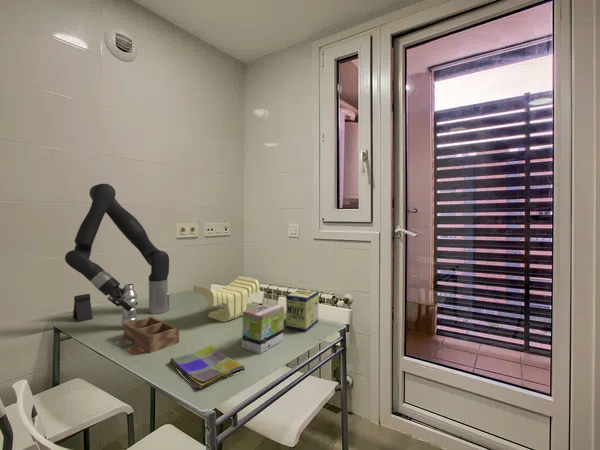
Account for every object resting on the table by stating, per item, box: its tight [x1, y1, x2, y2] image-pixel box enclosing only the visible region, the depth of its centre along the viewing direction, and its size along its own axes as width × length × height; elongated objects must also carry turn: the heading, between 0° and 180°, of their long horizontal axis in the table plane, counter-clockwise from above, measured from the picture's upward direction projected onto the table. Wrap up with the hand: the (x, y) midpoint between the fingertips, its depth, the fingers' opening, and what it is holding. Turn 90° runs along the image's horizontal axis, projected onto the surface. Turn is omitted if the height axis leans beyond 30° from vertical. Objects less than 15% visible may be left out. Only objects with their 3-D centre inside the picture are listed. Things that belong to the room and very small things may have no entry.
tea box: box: [241, 302, 285, 354], centre depth 121 cm, size 15×10×15 cm, turn 148°
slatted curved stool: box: [192, 275, 260, 323], centre depth 154 cm, size 30×16×18 cm, turn 144°
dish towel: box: [169, 344, 246, 390], centre depth 102 cm, size 18×24×3 cm
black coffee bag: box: [72, 293, 93, 323], centre depth 149 cm, size 9×6×12 cm, turn 51°
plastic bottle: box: [120, 283, 139, 329], centre depth 138 cm, size 6×7×20 cm
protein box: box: [285, 288, 320, 333], centre depth 142 cm, size 10×16×16 cm
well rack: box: [115, 316, 180, 356], centre depth 122 cm, size 16×23×6 cm
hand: (133, 307), depth 138 cm, fingers closed on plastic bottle, 6 cm apart
